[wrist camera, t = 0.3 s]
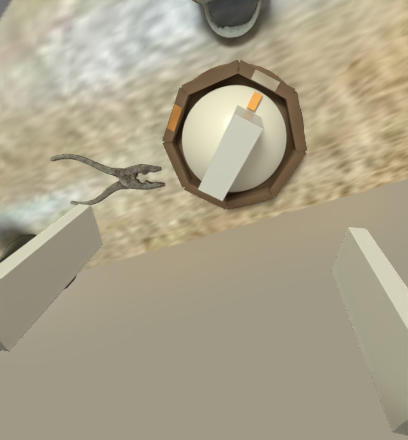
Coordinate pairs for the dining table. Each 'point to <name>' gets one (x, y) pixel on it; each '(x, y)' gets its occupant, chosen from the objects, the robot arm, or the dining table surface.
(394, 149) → the dining table surface
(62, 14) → the dining table surface
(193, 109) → the dial
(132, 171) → the pliers
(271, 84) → the dial housing
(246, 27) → the ceramic mug
